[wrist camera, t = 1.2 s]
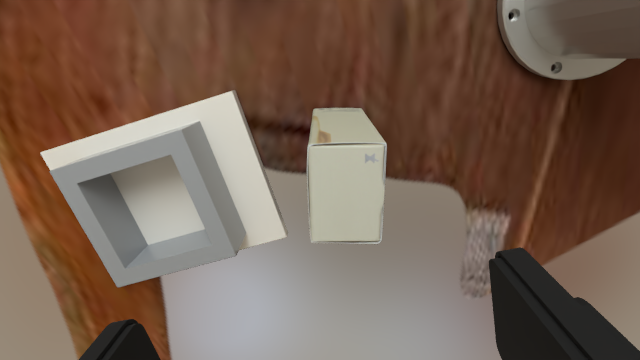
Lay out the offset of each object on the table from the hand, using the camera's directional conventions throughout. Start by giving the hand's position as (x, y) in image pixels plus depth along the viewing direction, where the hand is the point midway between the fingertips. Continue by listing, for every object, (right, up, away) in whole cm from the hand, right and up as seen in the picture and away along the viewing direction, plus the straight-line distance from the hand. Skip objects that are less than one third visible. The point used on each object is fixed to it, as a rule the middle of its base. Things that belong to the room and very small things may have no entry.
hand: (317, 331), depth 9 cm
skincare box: (+2, +7, +21) cm, 23 cm away
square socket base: (-14, +3, +23) cm, 27 cm away
